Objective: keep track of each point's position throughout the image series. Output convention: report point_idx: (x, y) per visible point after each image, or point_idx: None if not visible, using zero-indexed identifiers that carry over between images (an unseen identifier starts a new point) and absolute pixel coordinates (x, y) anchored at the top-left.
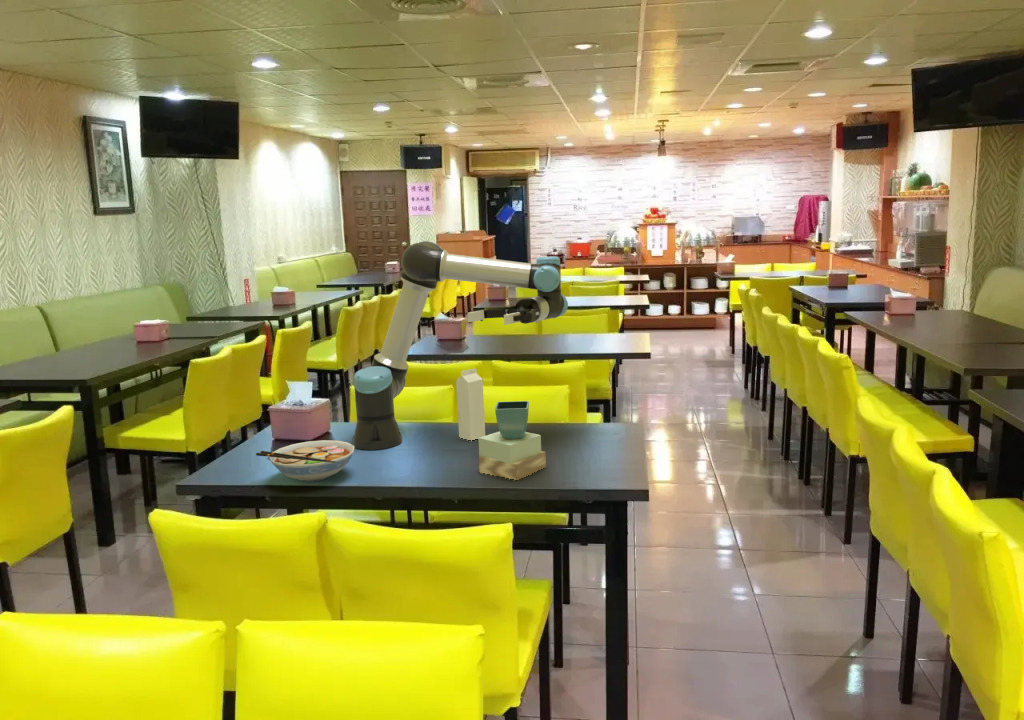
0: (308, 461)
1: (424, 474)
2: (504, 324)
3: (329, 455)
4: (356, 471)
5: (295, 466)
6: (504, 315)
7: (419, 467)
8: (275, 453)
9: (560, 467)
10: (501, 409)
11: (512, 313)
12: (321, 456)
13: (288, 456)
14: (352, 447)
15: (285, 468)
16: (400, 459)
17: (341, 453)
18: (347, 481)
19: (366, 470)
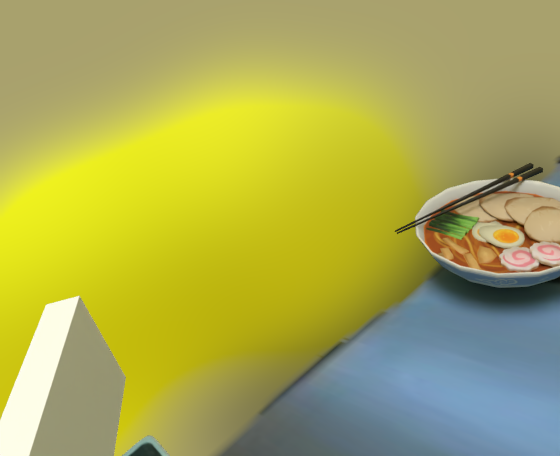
0: (475, 221)
1: (375, 414)
2: (119, 377)
3: (499, 249)
4: (497, 320)
5: (433, 200)
6: (70, 303)
7: (438, 430)
8: (512, 179)
9: None
10: (128, 450)
11: (21, 449)
12: (483, 234)
13: (478, 190)
14: (501, 274)
15: (450, 196)
16: (546, 423)
17: (501, 265)
18: (438, 294)
19: (492, 335)
